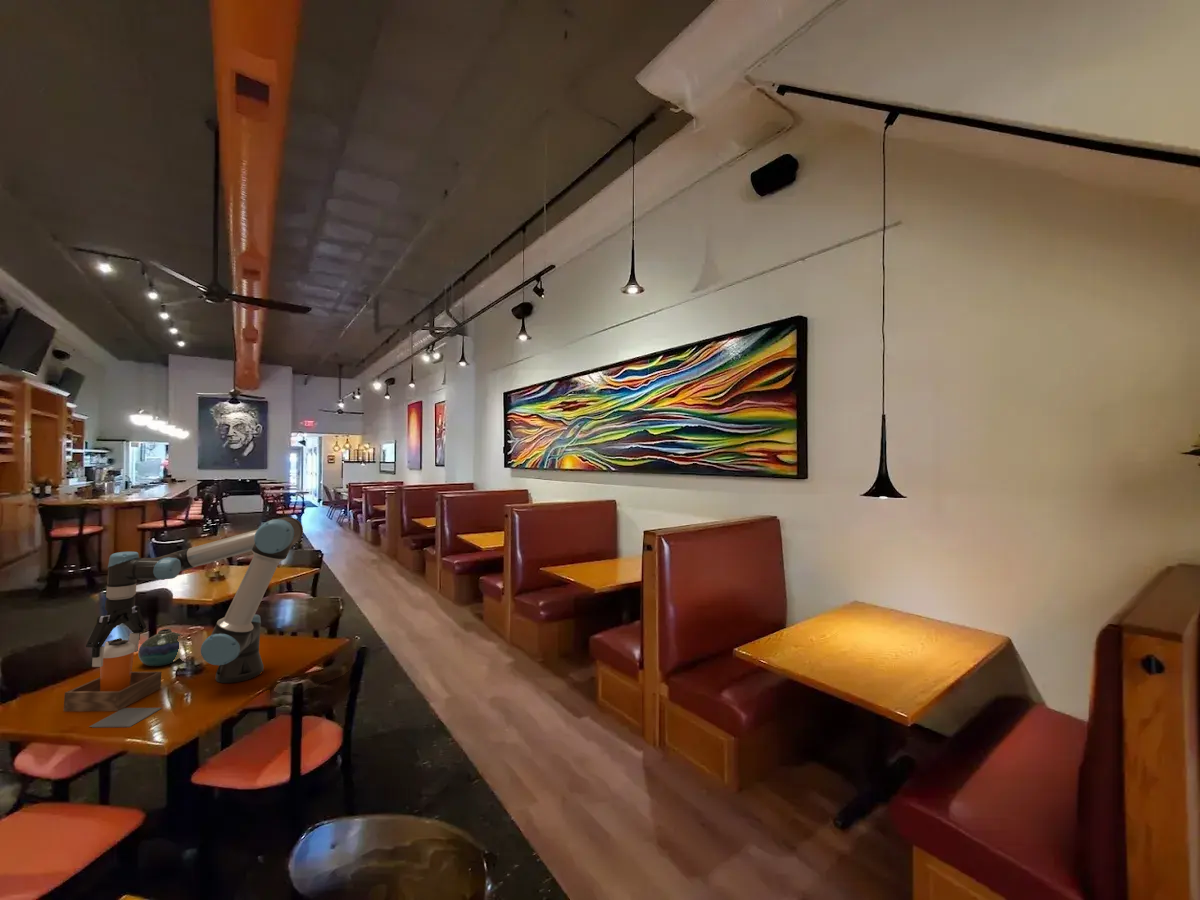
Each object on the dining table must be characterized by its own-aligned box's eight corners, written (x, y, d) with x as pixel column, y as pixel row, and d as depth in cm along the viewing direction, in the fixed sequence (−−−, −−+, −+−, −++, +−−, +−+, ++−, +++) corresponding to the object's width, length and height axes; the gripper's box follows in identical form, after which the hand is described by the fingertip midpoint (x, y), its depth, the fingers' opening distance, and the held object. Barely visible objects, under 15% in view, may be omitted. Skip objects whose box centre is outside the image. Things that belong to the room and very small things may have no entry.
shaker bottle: (109, 706, 166) (113, 646, 167) (89, 703, 168) (92, 643, 169) (139, 695, 175) (142, 637, 176) (119, 692, 177) (122, 635, 178)
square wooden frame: (160, 688, 181) (161, 671, 181) (118, 711, 164) (119, 692, 164) (111, 688, 180) (112, 671, 180) (63, 711, 163) (64, 692, 163)
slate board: (161, 708, 166) (161, 707, 166) (129, 727, 154) (129, 726, 154) (123, 708, 165) (123, 707, 165) (88, 727, 153) (89, 726, 153)
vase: (140, 661, 205) (142, 628, 205) (188, 653, 214) (190, 622, 214) (134, 674, 192) (136, 639, 193) (185, 665, 201) (187, 632, 202)
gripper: (140, 588, 185) (135, 645, 184) (73, 606, 160) (68, 673, 159) (161, 588, 186) (157, 646, 185) (98, 607, 161) (92, 673, 160)
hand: (115, 658), depth 172 cm, fingers open, 13 cm apart
